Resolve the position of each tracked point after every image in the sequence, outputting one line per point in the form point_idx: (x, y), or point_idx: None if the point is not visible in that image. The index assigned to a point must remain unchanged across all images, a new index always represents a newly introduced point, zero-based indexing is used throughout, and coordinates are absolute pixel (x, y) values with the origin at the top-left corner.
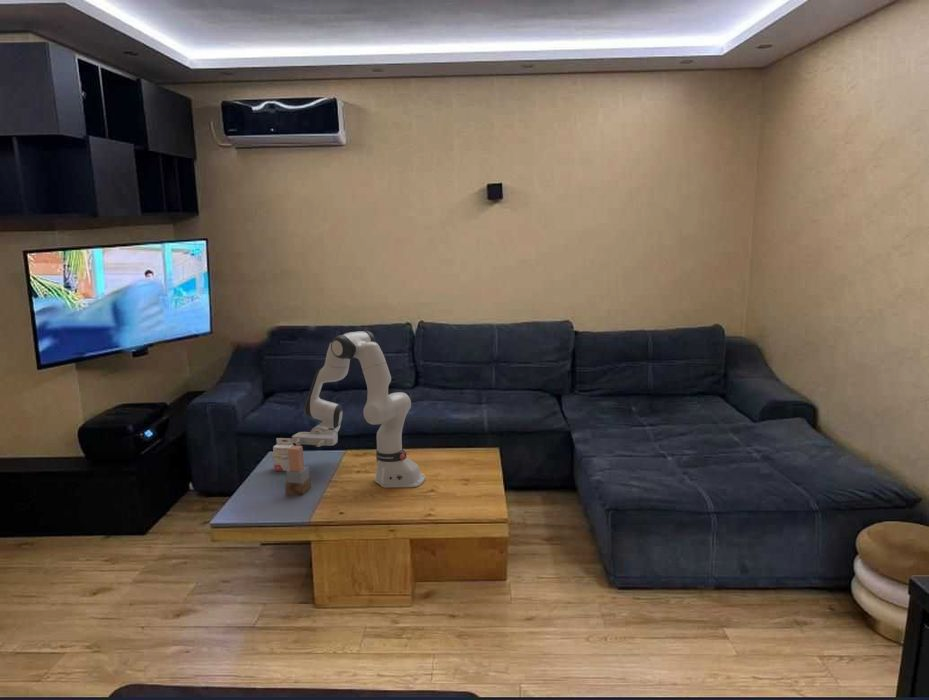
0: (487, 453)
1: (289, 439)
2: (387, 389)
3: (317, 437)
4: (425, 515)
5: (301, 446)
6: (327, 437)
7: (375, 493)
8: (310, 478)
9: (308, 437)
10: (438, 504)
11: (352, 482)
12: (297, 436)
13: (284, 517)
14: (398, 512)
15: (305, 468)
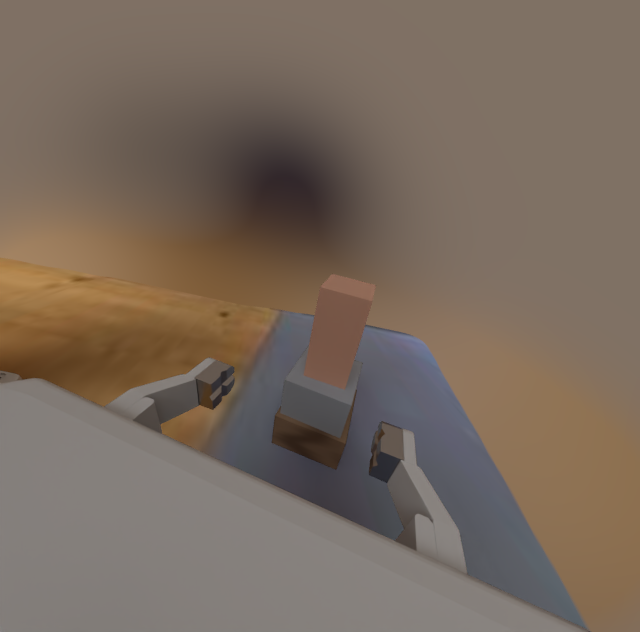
0: None
1: None
2: None
3: (169, 451)
4: (88, 280)
5: (324, 285)
6: (35, 412)
7: (91, 357)
8: (275, 416)
9: (300, 500)
10: (13, 291)
11: None
12: (512, 606)
13: None
14: (123, 294)
15: (297, 369)
